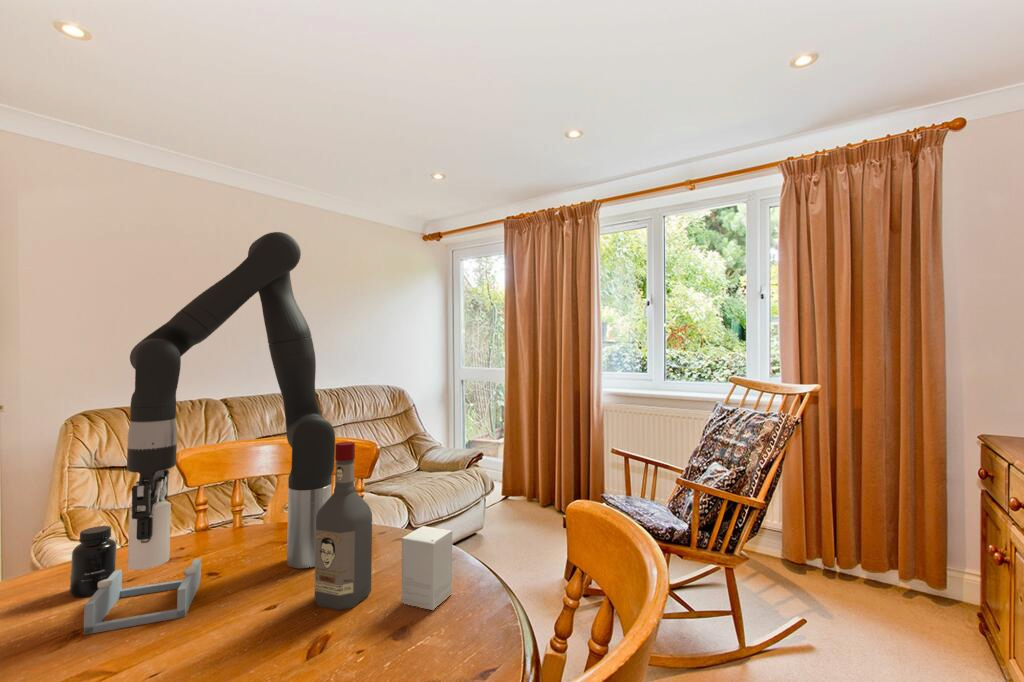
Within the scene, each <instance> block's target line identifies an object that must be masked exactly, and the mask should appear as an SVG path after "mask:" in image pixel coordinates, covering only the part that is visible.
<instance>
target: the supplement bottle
mask: <svg viewBox="0 0 1024 682" xmlns="http://www.w3.org/2000/svg"><path fill="white" fill-rule="evenodd" d="M78 543H79V544H78V545H77V546H75V547H74V549H73V550H72V553H71V568H70V585H69V586H70V587H69V593H70V595H71V596H73V597H75V598H85V597H86V598H87V597H92V596H93V595H94V594H95V592H96V591H97V590H98V589H99V588H98V582H99V581H102V580H105V579H108V578H109V576H110V575H111V574H112V573H113V572H114V571H116V567H117V561H116V560H117V546H118V545H117V542H116V541H115V540H114V539H112V527H111V526H109V525H98V526H92V527H89V528H84V529H83V530H81V531H80V532H79V539H78Z"/></svg>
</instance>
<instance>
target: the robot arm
mask: <svg viewBox="0 0 1024 682" xmlns="http://www.w3.org/2000/svg"><path fill="white" fill-rule="evenodd" d="M249 246H250V247H249V249H248V251H247V257H246V258H245V259H244V260H243V261H242V262H241V263H240V264H239V265H238V266H237V267H236V268H234V269H233V270H231V272H229V273H228V274H226V276H224V277H222V278H221V279H220V280H219V281H217V282H215V283H214V284H213V285H211V286H209V287H208V288H207V289H205V290H204V291H202V292H201V293H200V294H199V295H198V296H196V297H195V298H193V299H192V300H191V301H190V302H188V303H187V304H185V306H184V307H182V308H181V309H180V310H179V311H178V312H176V313H175V315H174V316H173V317H172V318H170V320H168V321H167V322H165V323H164V324H163V325H161V326H160V327H158V328H156V329H155V330H154V331H152V332H151V333H150V334H149V335H147V336H145V337H144V338H143V339H141V340H140V341H139V342H137V344H136V345H135V346H134V347H133V348H132V349H131V352H130V354H129V361H130V365H131V367H132V368H133V369H134V370H135V371H134V373H135V374H134V378H135V379H134V391H133V393H132V394H131V399H130V412H129V413H130V414H129V426H128V431H127V451H126V452H127V453H126V454H127V455H126V456H127V457H126V470H127V471H128V472H129V473H137V474H139V476H138V477H139V478H138V480H137V481H136V482H135V485H133V486H132V488H131V507H132V519H136V520H137V539H138V540H144V539H150V538H151V537H152V532H153V516H154V507H155V505H157V504H158V502H159V501H160V502H161V501H167V499H168V497H169V495H168V494H169V493H168V491H169V474H170V469H172V468H175V466H176V465H177V447H178V446H177V444H178V443H177V442H178V427H177V419H176V418H177V391H178V390H177V389H178V384H179V380H180V373H181V365H182V364H181V363H182V362H181V361H182V360H181V359H182V358H181V357H183V355H184V354H186V352H188V351H189V350H190V349H192V348H193V346H195V345H198V344H200V343H202V342H203V341H205V340H206V339H207V338H209V337H210V336H211V335H212V334H213V333H214V332H216V330H218V329H219V328H220V327H222V325H223V324H224V323H225V322H226V321H227V320H228V319H230V318H231V317H232V316H233V315H234V314H235V313H236V312H237V311H238V310H239V309H240V308H241V307H242V306H243V305H244V304H245V303H247V302H248V301H249V300H250V299H251V298H252V297H254V295H255V294H257V293H258V294H259V299H260V303H261V309H262V316H263V321H264V327H265V332H266V338H267V343H268V349H269V352H270V353H269V354H270V357H271V358H270V359H271V362H272V366H273V371H274V373H275V378H276V380H277V383H278V387H279V390H280V393H281V397H282V400H283V401H282V402H283V407H284V408H283V409H284V417H285V433H286V440H287V442H288V444H289V446H290V447H291V468H290V473H289V475H288V481H287V482H288V484H287V487H288V489H287V491H288V493H287V495H288V496H287V498H288V499H287V539H286V542H287V545H286V550H287V551H286V565H287V566H288V567H290V568H293V569H308V568H309V567H310V568H315V549H316V516H317V513H318V511H319V509H320V508H321V507H322V506H323V505H324V504H325V503H326V501H327V500H328V499H329V498H330V497H331V496H332V477H333V474H334V470H335V451H336V434H335V433H336V432H335V429H334V427H333V425H332V424H331V422H330V421H329V420H327V419H326V418H323V415H322V412H321V409H320V406H319V401H318V399H317V392H316V372H317V371H316V369H317V366H316V363H317V361H316V353H315V352H316V351H315V347H314V346H315V345H314V342H313V338H312V334H311V333H312V332H311V330H310V329H311V328H310V326H309V324H308V322H307V320H306V318H305V316H304V315H303V312H302V311H301V309H300V307H299V305H298V304H297V303H298V302H297V301H296V299H295V296H294V292H293V287H292V279H291V274H290V273H291V271H293V270H294V269H296V267H298V264H299V263H300V260H301V255H302V253H301V248H300V245H299V243H298V241H297V240H296V239H295V238H294V237H293V236H292V235H290V234H288V233H285V232H282V231H281V232H280V231H273V232H268V233H266V234H263V235H262V236H259V238H257V239H255V240H254V241H253V242H252V243H251V244H250V245H249ZM151 499H152V500H151ZM143 506H145V507H146V511H141V509H142V507H143Z"/></svg>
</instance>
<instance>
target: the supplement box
mask: <svg viewBox="0 0 1024 682" xmlns="http://www.w3.org/2000/svg"><path fill="white" fill-rule="evenodd" d="M453 579H454V578H453V530H449V529H442V528H437V527H432V526H426V525H422V526H420V527H419V528H417V529H415V530H414V531H412V532H410V533H408V534H407V535H404V536H403V537H401V604H402V603H405V604H409V605H413V606H418V607H422V608H426V609H430V610H433V609H434V608H436V607H437V606H438V605H439V604H440V603H441V602H442V601H444V600H445V599H446V598H447V597H448V596H449V595H450V594H451V593H452V592H453V589H454V588H453ZM405 604H404V605H405ZM409 605H408V606H409ZM413 606H412V607H413ZM437 608H438V607H437ZM437 608H436V609H437Z"/></svg>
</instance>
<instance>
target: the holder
mask: <svg viewBox="0 0 1024 682" xmlns="http://www.w3.org/2000/svg"><path fill="white" fill-rule="evenodd" d="M201 568H202V558H195V559H193V561H192V562H191V565H190V566H189V567H186V568H184V570H183V575H184V577H183V579H180V580H179V579H178V580H173V581H166V582H159V583H153V584H147V585H140V586H139V585H138V586H133V587H128V588H123V586H122V584H123V569H117V570H116V569H115V571H114V572H113V573H112V574H111V575H110V576H109V578H108V579H105V580H102V581H99V582H98V588H99V589H98V590H97V591H96V592H95V594H94V595H93V596H90V598H89V599H88V600H87V601H86V603H85V604H84V607H83V608H84V609H83V610H84V613H83V636H85V635H90V634H96V633H102V632H106V631H113V630H119V629H124V628H131V627H136V626H141V625H146V624H152V623H157V622H158V623H159V622H162V621H168V620H174V619H180V618H185V617H186V615H187V613H188V611H189V609H190V607H191V604H192V602H193V600H194V597H195V596H196V593H197V591H198V589H199V587H200V584H201V573H202V572H201V571H202V569H201ZM170 590H177V597H176V598H177V600H176V601H177V602H176V605H177V607H176V608H175V609H169V610H162V611H157V612H151V613H146V614H140V615H135V616H129V617H123V618H117V619H111V620H104V619H105V617H106V616H107V615H108V614H109V612H110V611H111V610H112V608H113V607H114V606H115V605H116V603H117V602H118V601H119V599H121V598H127V597H132V596H133V597H135V596H139V595H144V594H146V595H147V594H151V593H158V592H163V591H170ZM103 620H104V621H103Z"/></svg>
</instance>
